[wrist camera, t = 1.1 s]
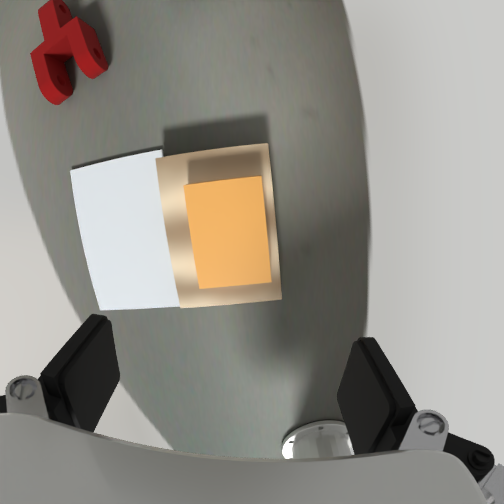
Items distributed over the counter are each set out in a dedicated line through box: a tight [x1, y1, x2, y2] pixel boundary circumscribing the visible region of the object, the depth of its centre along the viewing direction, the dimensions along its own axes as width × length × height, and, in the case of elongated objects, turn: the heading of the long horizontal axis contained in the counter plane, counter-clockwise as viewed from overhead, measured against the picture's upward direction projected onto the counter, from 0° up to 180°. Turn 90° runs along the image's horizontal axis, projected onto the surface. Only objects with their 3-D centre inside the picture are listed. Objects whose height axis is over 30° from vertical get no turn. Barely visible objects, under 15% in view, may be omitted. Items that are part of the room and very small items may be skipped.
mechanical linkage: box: [30, 0, 108, 105], centre depth 24 cm, size 16×7×5 cm, turn 24°
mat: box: [70, 150, 180, 310], centre depth 33 cm, size 18×12×1 cm, turn 6°
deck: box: [155, 143, 282, 308], centre depth 31 cm, size 16×11×3 cm
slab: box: [183, 175, 272, 289], centre depth 29 cm, size 10×7×2 cm
